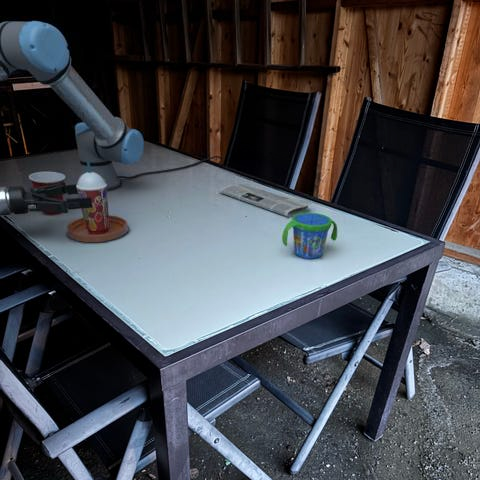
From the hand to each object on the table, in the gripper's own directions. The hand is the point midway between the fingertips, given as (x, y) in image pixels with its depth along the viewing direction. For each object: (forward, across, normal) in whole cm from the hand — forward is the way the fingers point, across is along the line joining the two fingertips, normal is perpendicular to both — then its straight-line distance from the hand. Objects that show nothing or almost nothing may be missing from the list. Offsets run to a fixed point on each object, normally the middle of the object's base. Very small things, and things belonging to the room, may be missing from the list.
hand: (91, 195), depth 136 cm
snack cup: (+55, +32, -11) cm, 64 cm away
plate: (0, 0, -11) cm, 11 cm away
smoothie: (0, 0, -11) cm, 11 cm away
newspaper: (+59, -14, -11) cm, 62 cm away
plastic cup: (-12, -22, -11) cm, 27 cm away
